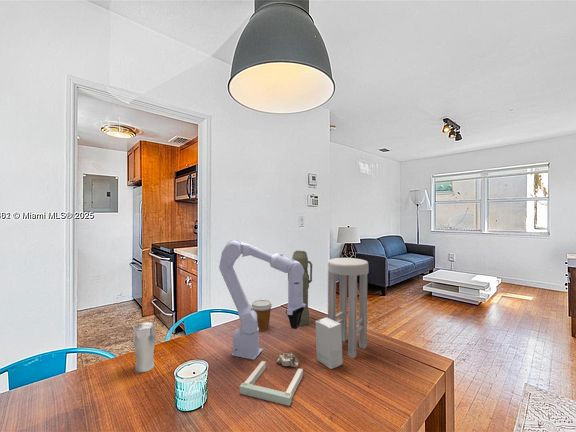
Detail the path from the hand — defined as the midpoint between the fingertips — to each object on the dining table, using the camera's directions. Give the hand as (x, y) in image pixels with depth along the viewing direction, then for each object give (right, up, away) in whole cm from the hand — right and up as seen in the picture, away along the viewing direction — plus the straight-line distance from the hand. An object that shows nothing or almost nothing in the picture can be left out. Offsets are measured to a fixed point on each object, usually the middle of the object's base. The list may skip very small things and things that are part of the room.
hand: (295, 326), depth 110 cm
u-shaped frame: (-7, -10, -20) cm, 24 cm away
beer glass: (-53, -10, -12) cm, 55 cm away
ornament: (-3, -10, -9) cm, 14 cm away
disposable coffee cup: (-15, -9, +20) cm, 27 cm away
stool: (+21, -10, +2) cm, 23 cm away
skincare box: (+12, -10, -8) cm, 17 cm away
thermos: (+3, -9, +27) cm, 28 cm away
